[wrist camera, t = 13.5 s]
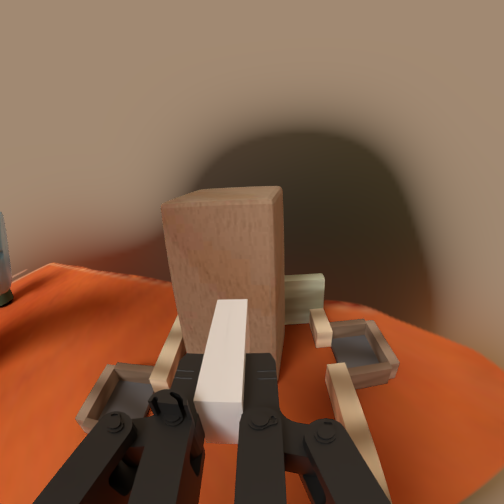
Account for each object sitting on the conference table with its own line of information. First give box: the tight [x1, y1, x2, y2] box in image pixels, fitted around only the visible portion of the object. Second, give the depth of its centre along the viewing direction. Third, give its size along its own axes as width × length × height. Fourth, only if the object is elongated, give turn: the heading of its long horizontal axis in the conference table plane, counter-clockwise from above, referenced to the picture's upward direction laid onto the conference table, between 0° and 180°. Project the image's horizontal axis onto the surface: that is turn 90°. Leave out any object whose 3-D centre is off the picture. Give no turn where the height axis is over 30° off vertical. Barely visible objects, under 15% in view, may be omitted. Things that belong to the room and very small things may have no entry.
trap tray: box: [75, 273, 400, 504], centre depth 24 cm, size 35×33×7 cm
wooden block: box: [161, 186, 285, 382], centre depth 30 cm, size 10×10×20 cm
